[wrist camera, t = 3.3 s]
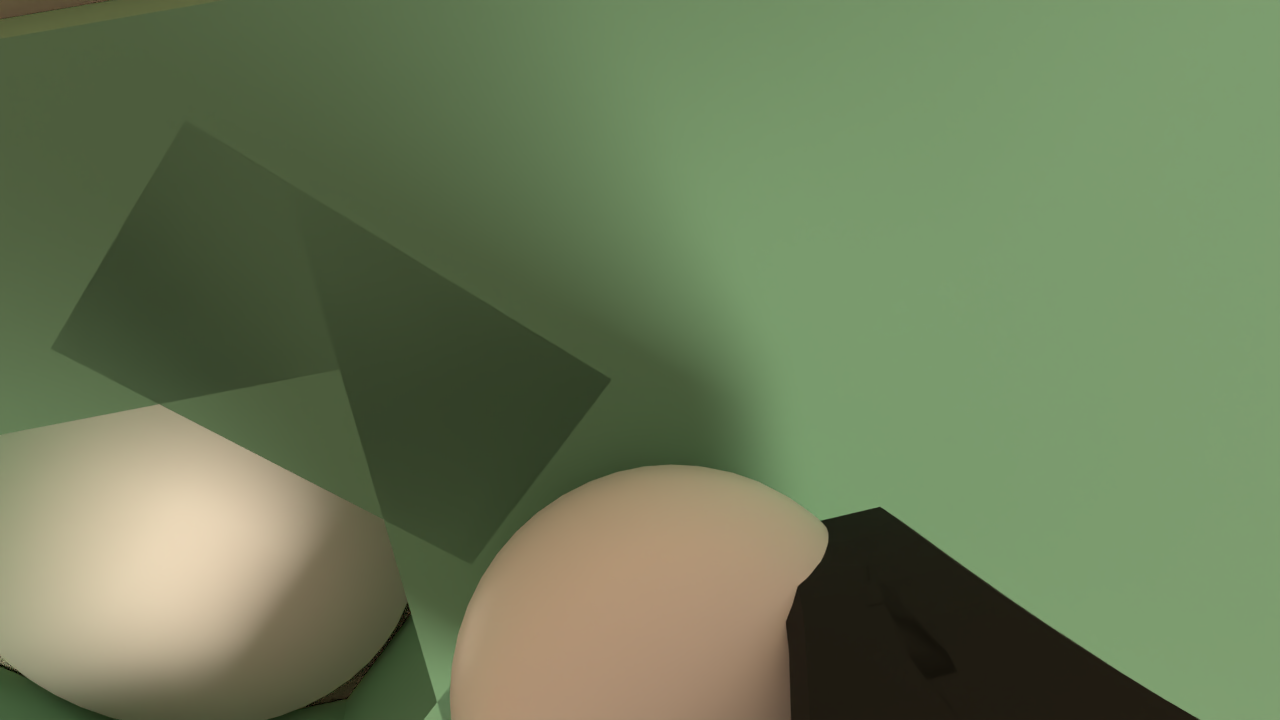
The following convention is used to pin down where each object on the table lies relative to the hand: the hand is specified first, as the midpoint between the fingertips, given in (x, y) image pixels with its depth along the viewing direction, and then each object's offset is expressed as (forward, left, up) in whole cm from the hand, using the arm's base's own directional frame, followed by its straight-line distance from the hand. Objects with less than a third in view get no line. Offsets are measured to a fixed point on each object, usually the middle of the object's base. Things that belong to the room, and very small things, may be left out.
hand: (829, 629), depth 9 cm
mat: (+2, 0, -3) cm, 3 cm away
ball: (+1, 0, 0) cm, 1 cm away
